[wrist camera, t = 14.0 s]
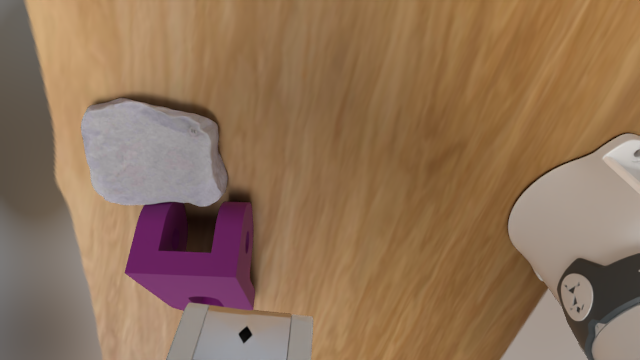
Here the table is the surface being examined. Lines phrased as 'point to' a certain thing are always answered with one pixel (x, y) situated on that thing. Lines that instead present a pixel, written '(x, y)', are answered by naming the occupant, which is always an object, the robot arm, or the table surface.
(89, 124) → the stone block
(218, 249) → the mounting bracket
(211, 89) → the table surface
